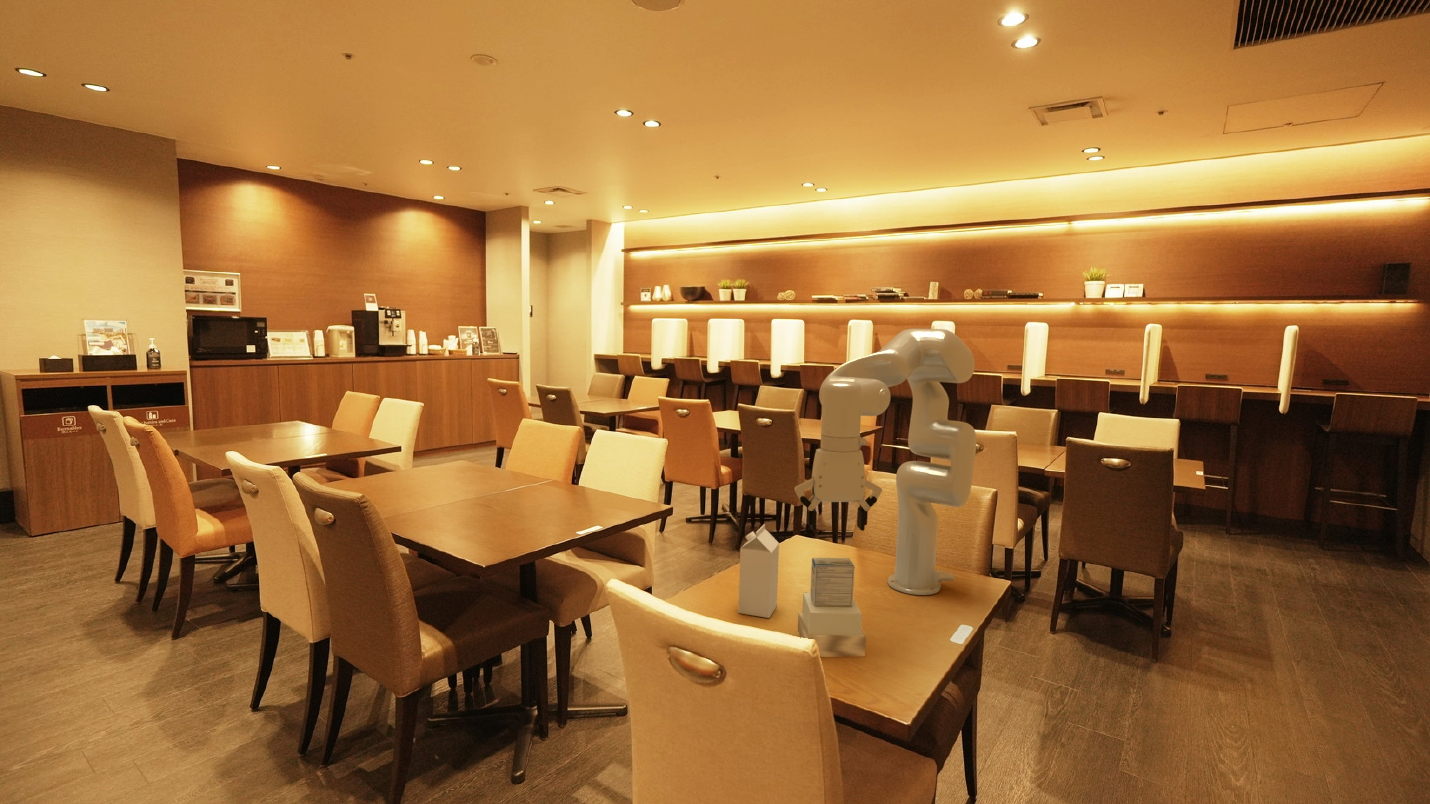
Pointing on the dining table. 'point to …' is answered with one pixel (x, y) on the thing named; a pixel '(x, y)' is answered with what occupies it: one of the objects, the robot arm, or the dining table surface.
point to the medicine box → (832, 582)
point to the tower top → (831, 618)
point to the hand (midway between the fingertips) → (836, 528)
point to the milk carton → (758, 574)
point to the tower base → (834, 642)
